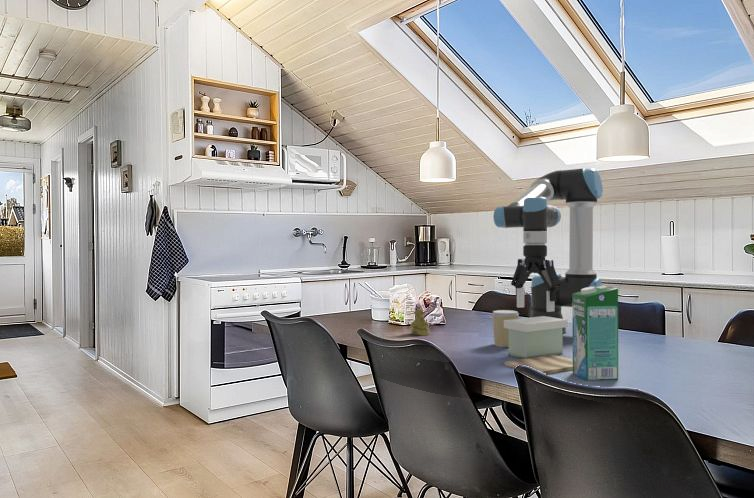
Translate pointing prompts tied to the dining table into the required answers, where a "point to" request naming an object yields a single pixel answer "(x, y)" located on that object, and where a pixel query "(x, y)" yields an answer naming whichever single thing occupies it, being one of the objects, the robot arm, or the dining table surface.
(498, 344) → the coffee cup
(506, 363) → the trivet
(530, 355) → the box
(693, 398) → the dining table surface
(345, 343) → the dining table surface
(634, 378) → the dining table surface
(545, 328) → the lid
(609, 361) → the milk carton
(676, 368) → the dining table surface
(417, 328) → the olive green tiered cone
